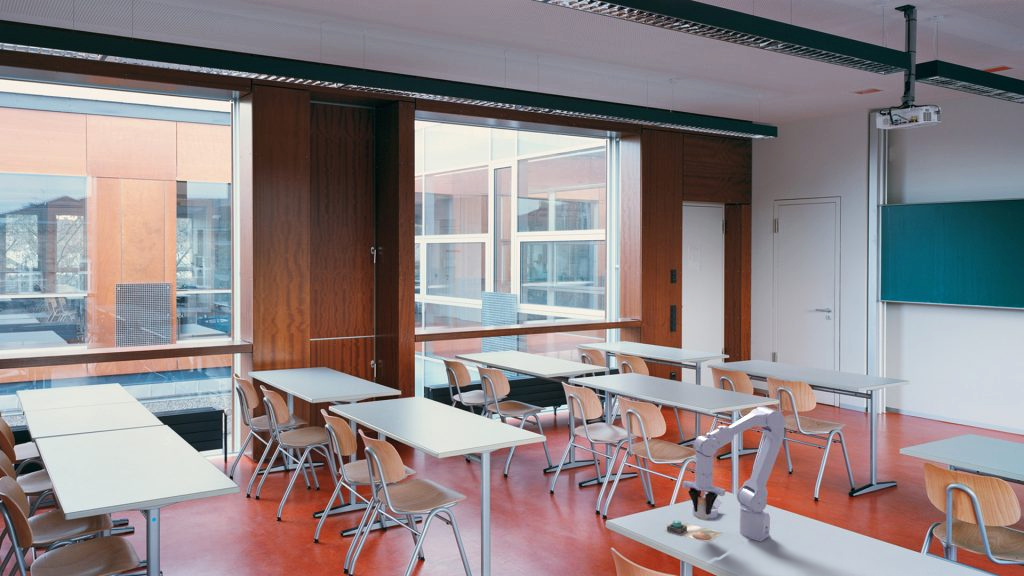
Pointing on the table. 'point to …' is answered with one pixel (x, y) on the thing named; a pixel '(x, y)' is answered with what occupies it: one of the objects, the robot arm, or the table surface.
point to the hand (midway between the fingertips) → (702, 512)
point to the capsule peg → (701, 508)
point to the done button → (677, 524)
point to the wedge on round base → (714, 509)
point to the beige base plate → (694, 532)
